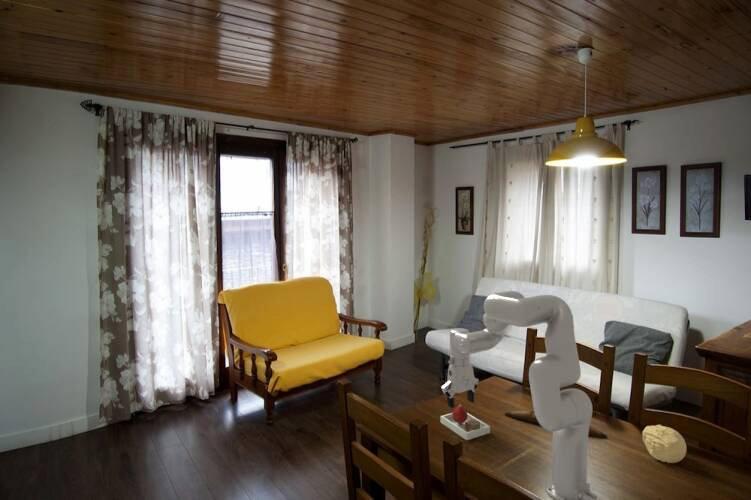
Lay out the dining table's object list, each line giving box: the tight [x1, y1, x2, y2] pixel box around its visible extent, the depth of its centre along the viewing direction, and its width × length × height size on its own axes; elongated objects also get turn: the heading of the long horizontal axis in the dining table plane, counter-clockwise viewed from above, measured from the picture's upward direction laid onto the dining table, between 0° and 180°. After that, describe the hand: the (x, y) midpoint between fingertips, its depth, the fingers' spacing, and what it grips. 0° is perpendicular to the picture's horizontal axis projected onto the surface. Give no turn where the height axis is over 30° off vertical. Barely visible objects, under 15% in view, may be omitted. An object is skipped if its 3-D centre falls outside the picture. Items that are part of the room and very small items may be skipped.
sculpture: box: [642, 424, 687, 464], centre depth 153 cm, size 12×12×11 cm
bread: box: [504, 409, 608, 439], centre depth 176 cm, size 38×5×5 cm, turn 58°
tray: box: [439, 412, 491, 441], centre depth 175 cm, size 16×11×3 cm
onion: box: [451, 404, 468, 425], centre depth 177 cm, size 6×6×8 cm
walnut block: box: [465, 419, 480, 432], centre depth 171 cm, size 4×4×4 cm
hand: (460, 404), depth 176 cm, fingers open, 9 cm apart
